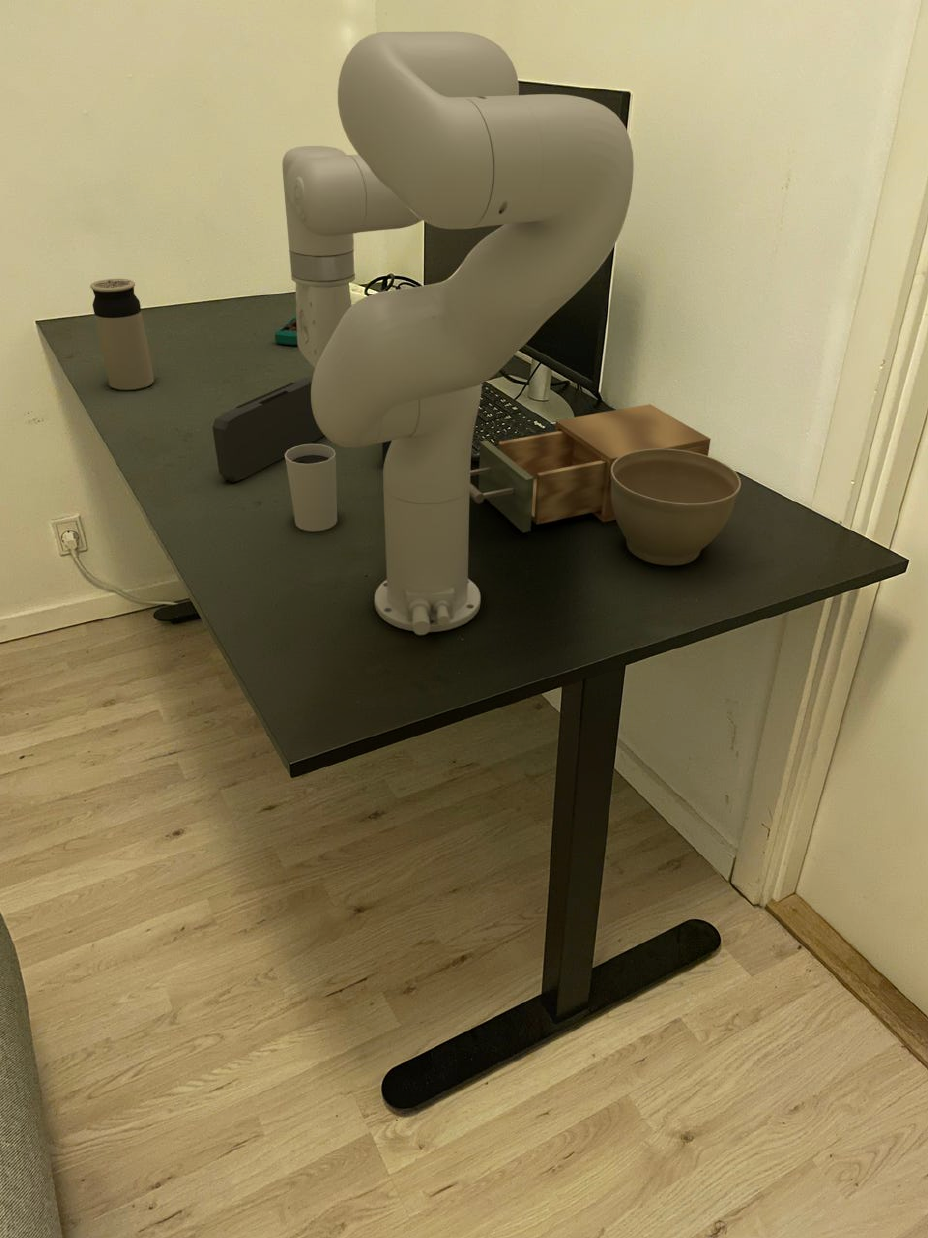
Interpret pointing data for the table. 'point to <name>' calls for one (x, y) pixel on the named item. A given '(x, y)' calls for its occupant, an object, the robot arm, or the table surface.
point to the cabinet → (630, 438)
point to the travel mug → (122, 334)
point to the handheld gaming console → (264, 430)
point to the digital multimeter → (287, 333)
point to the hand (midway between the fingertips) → (331, 412)
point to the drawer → (540, 478)
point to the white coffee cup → (313, 486)
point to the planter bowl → (671, 502)
